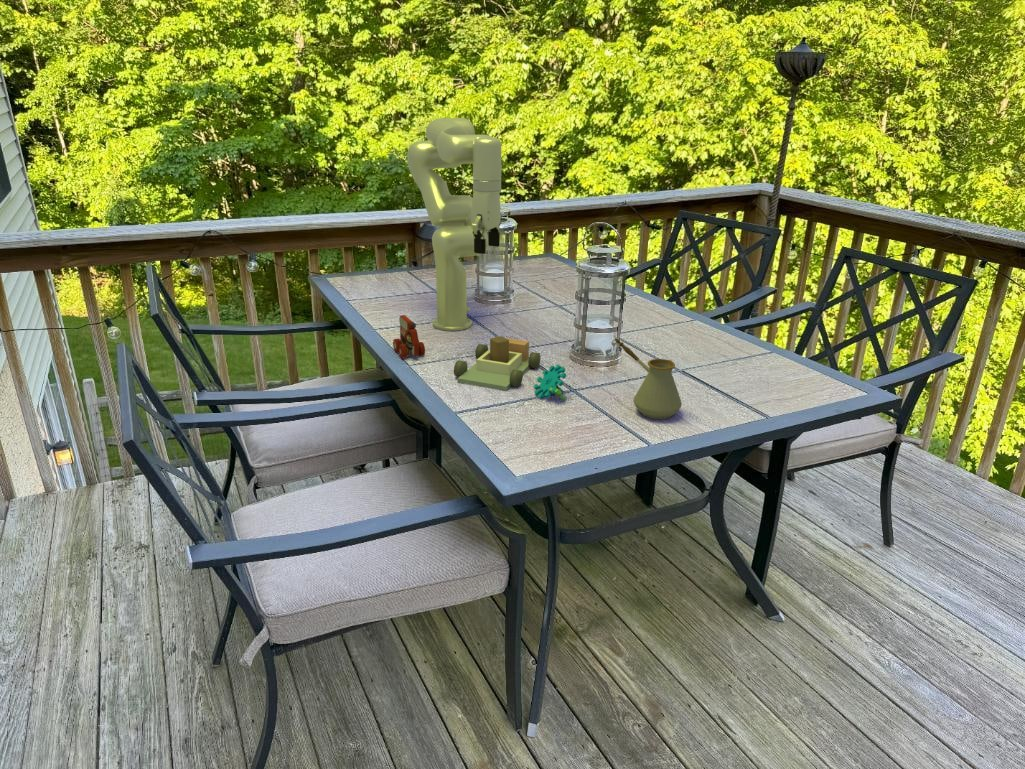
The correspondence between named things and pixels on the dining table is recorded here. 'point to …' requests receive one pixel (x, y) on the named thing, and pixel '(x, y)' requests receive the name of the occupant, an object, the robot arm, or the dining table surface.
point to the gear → (551, 382)
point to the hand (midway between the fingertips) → (487, 249)
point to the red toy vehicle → (408, 339)
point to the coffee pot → (656, 388)
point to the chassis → (498, 367)
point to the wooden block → (499, 349)
